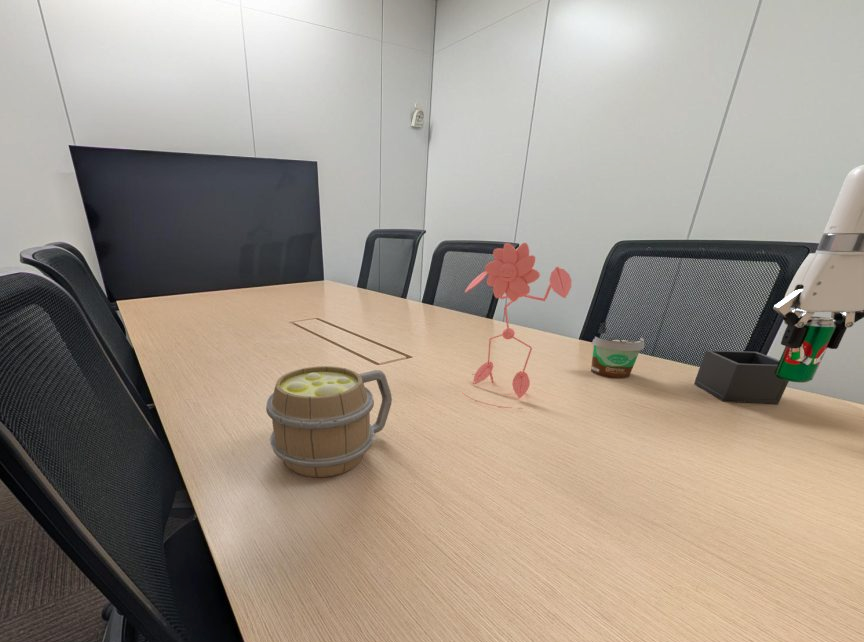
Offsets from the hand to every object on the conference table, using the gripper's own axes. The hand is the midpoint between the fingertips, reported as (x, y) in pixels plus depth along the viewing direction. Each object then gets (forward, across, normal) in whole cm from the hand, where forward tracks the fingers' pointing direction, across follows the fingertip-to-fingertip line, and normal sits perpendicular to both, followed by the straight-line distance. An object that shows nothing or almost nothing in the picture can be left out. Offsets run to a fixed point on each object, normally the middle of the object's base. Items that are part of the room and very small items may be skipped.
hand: (808, 345), depth 71 cm
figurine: (+15, +55, -6) cm, 57 cm away
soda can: (+7, 0, 0) cm, 7 cm away
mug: (+14, +87, +25) cm, 91 cm away
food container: (+16, +21, -23) cm, 35 cm away
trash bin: (+16, -1, -14) cm, 21 cm away
